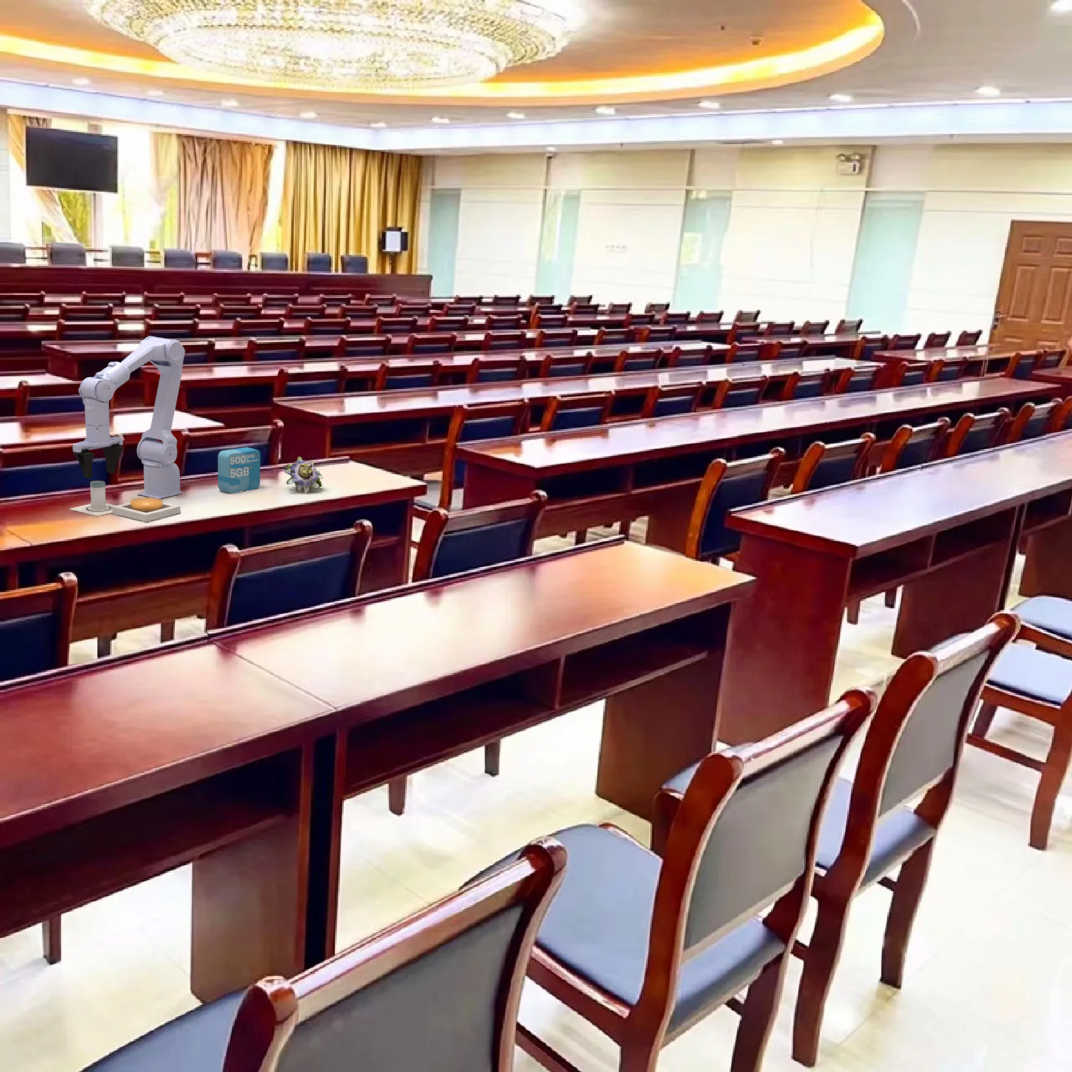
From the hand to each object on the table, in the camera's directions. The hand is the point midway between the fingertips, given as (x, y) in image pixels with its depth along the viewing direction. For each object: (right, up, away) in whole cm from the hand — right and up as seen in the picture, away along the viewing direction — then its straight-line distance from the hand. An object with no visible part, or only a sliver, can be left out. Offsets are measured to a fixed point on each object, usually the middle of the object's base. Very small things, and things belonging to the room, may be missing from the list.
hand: (99, 475), depth 274 cm
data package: (+27, -3, +34) cm, 43 cm away
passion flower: (+45, -2, +40) cm, 60 cm away
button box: (+12, -10, +2) cm, 16 cm away
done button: (+12, -8, +2) cm, 15 cm away
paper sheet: (-1, -9, +3) cm, 9 cm away
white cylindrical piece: (-1, -9, +3) cm, 9 cm away
